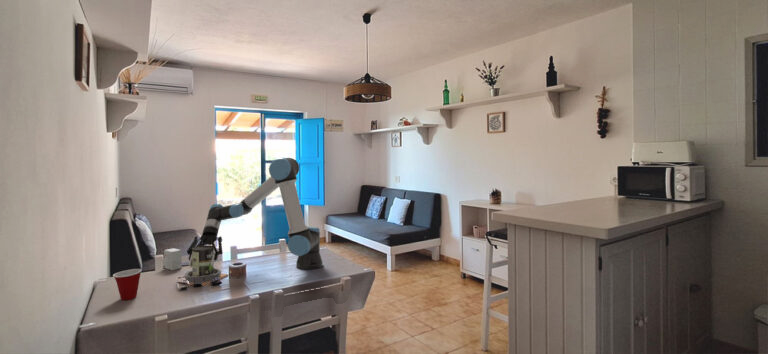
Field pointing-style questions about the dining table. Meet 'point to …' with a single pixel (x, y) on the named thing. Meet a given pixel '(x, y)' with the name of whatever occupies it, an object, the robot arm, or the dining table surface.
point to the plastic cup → (128, 283)
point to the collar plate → (205, 279)
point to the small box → (173, 259)
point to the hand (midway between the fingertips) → (200, 265)
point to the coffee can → (202, 261)
